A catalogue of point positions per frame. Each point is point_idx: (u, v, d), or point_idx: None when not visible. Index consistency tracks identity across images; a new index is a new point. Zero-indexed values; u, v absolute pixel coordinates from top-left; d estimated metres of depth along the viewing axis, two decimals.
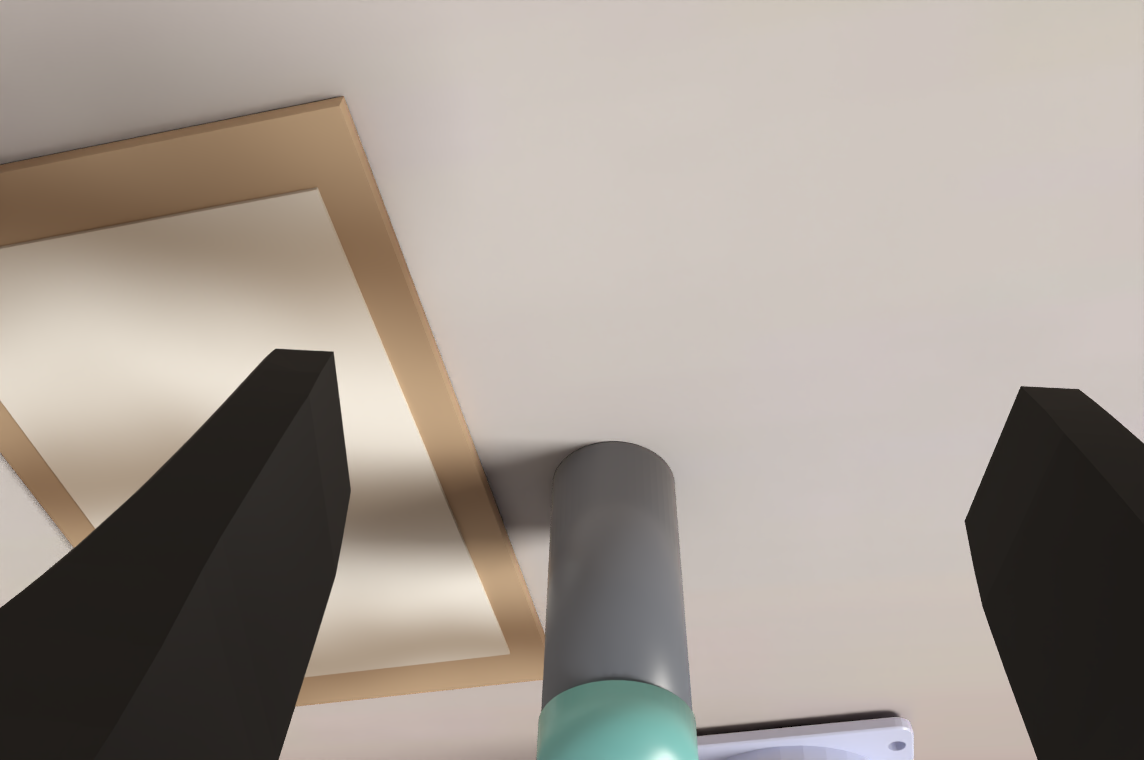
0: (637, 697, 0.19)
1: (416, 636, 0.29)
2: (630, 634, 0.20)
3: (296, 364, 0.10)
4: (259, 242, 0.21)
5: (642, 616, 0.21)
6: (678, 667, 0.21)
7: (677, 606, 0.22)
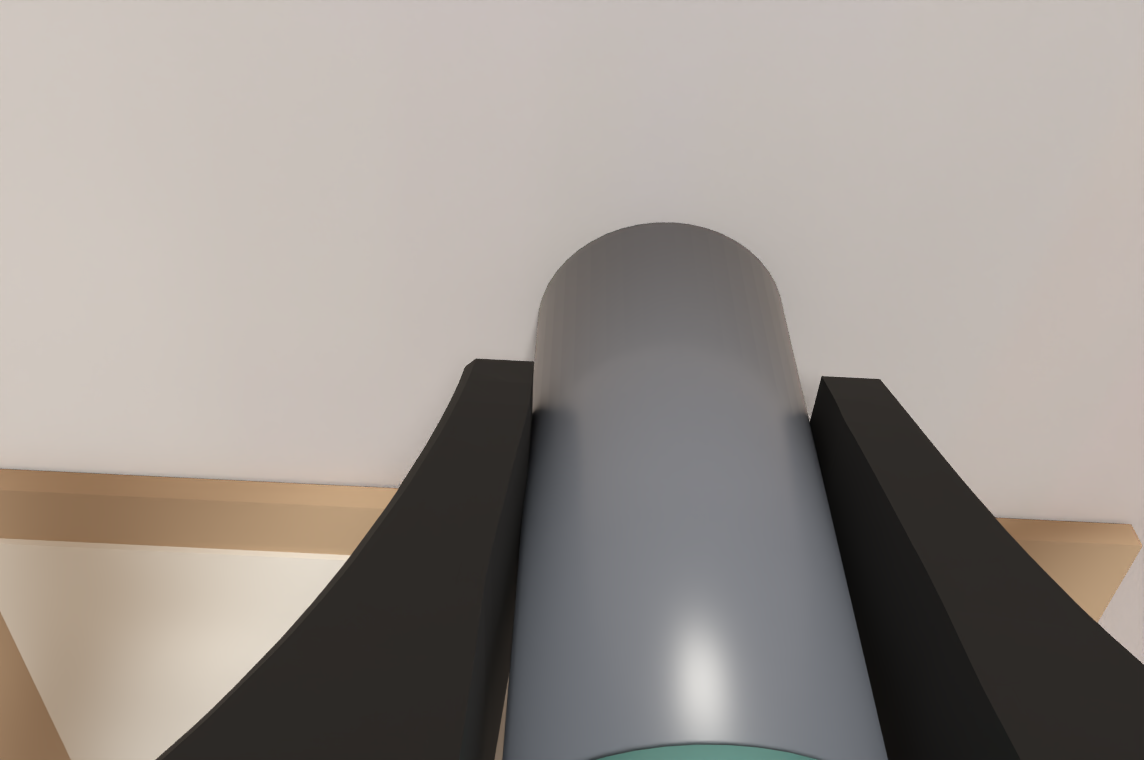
0: None
1: None
2: (518, 680, 0.08)
3: (503, 375, 0.10)
4: (65, 610, 0.16)
5: (538, 611, 0.08)
6: (633, 655, 0.07)
7: (637, 493, 0.09)
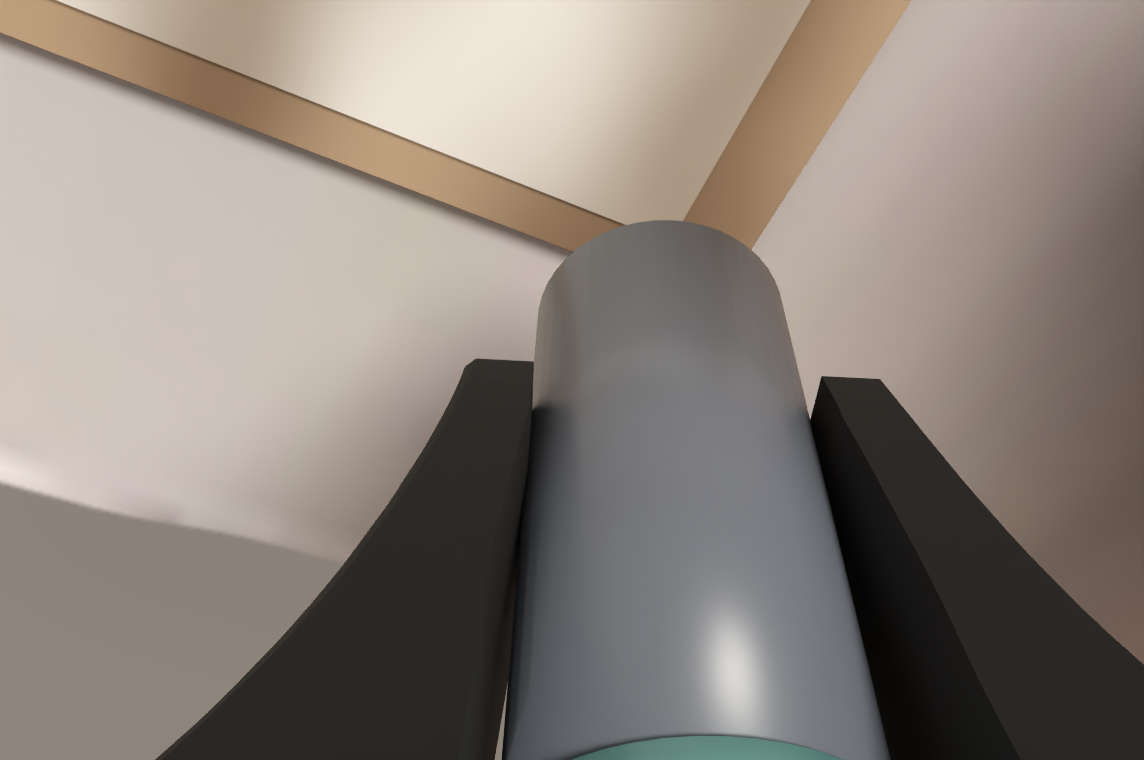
0: None
1: None
2: (517, 676, 0.08)
3: (503, 374, 0.10)
4: None
5: (535, 607, 0.08)
6: (631, 648, 0.07)
7: (636, 487, 0.09)
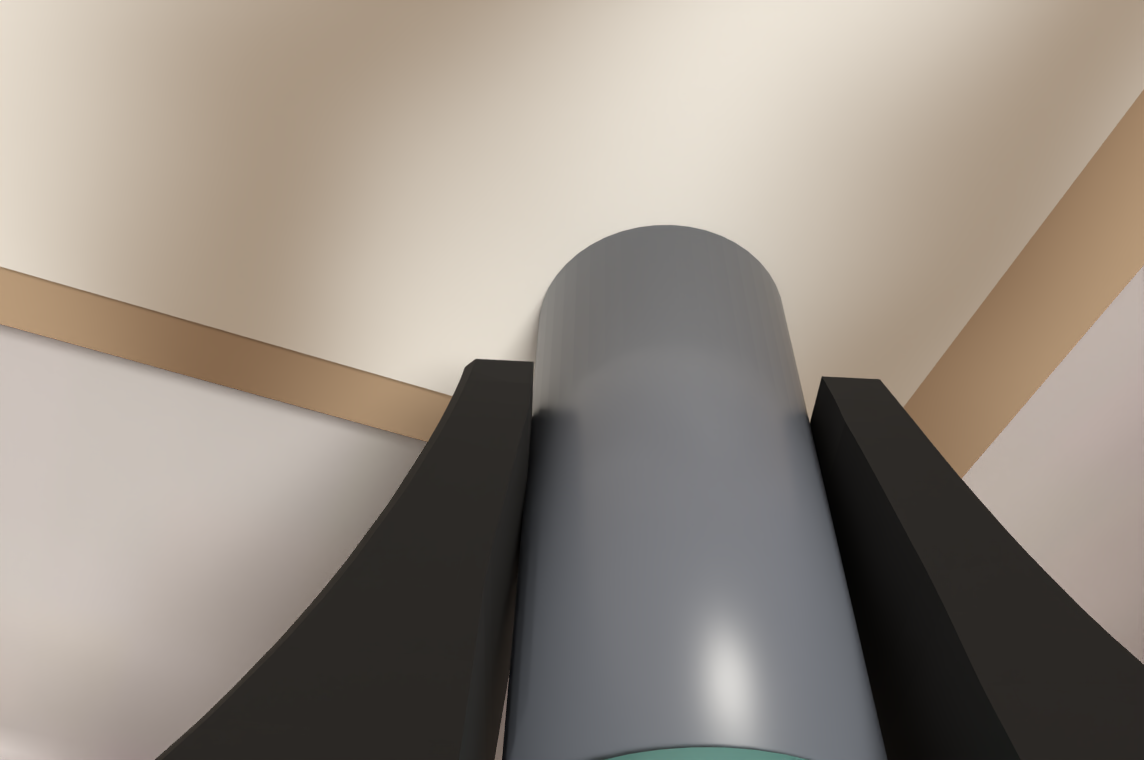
0: None
1: (1045, 38, 0.10)
2: (518, 684, 0.08)
3: (502, 374, 0.10)
4: None
5: (536, 615, 0.08)
6: (630, 658, 0.07)
7: (635, 497, 0.09)
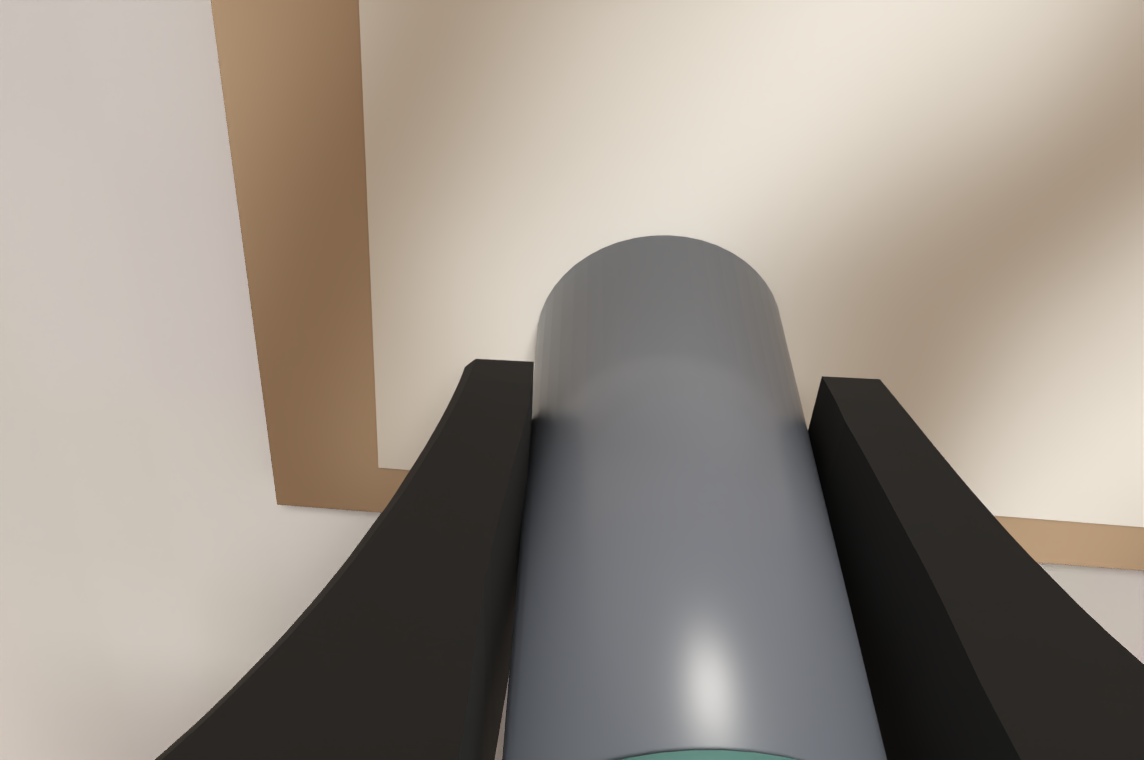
0: None
1: None
2: (517, 691, 0.08)
3: (503, 374, 0.10)
4: None
5: (534, 621, 0.08)
6: (628, 662, 0.07)
7: (633, 502, 0.09)
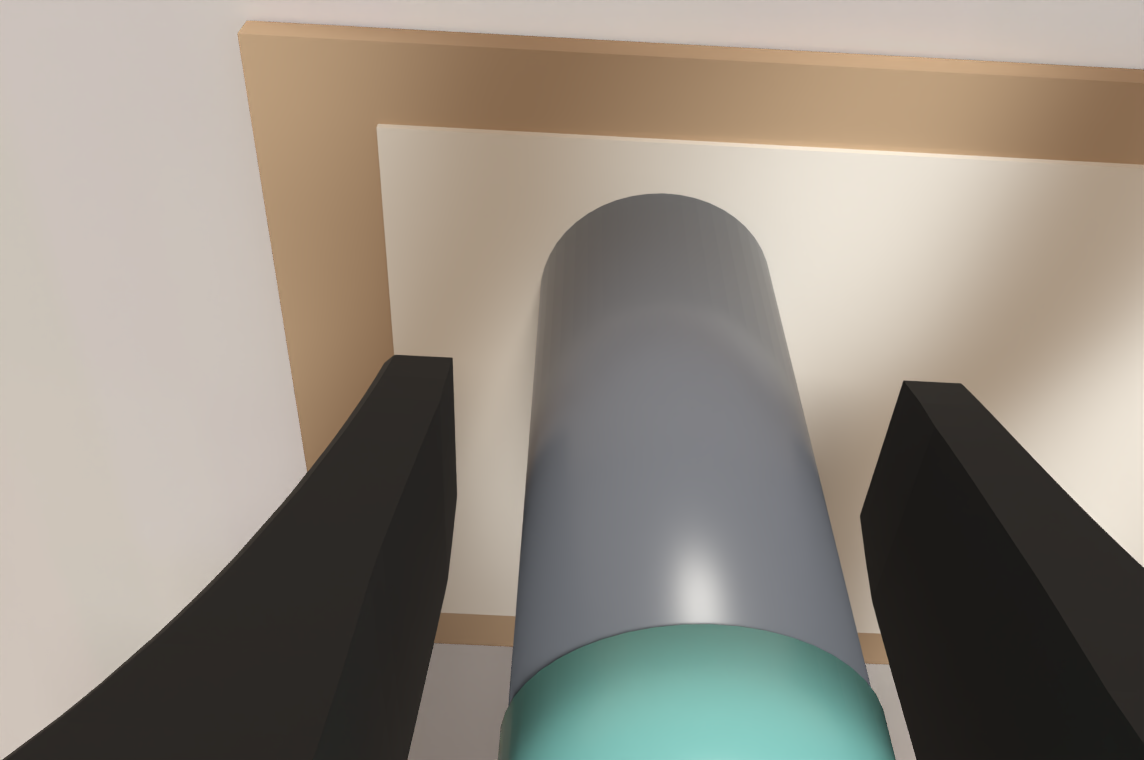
0: (516, 731, 0.08)
1: None
2: (525, 592, 0.09)
3: (418, 370, 0.10)
4: (461, 243, 0.13)
5: (541, 531, 0.09)
6: (627, 557, 0.08)
7: (630, 424, 0.09)
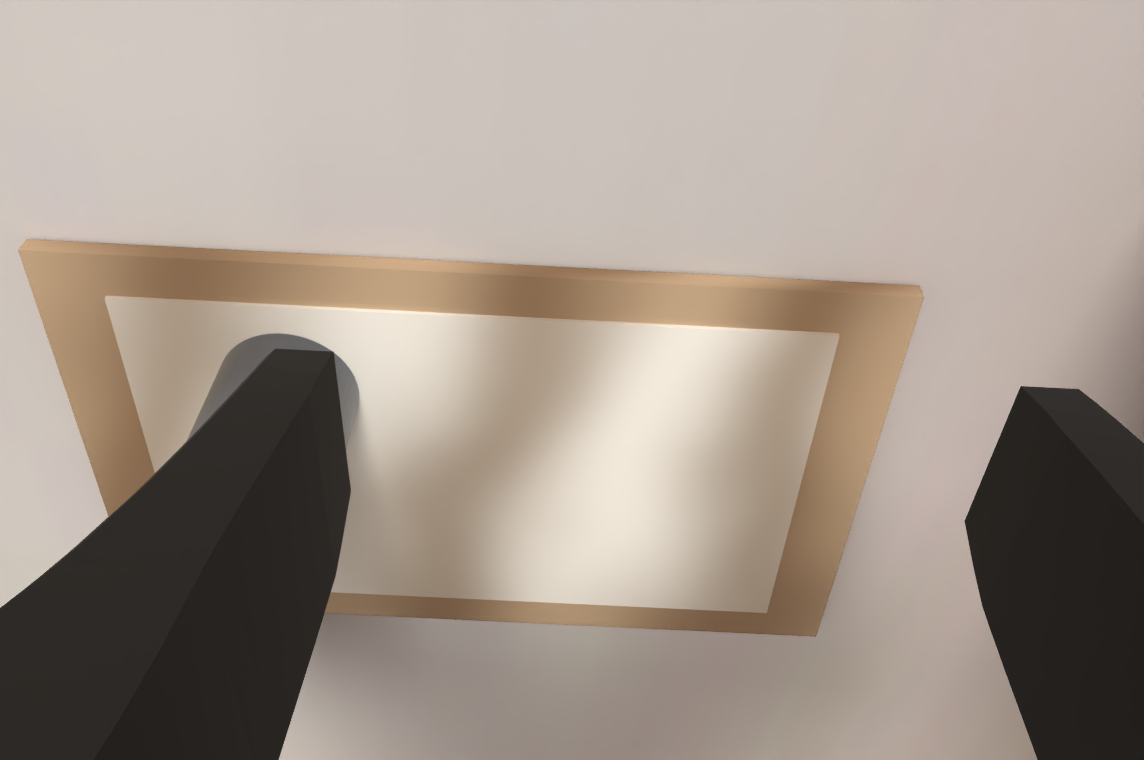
0: None
1: (759, 418, 0.23)
2: None
3: (296, 364, 0.10)
4: (168, 359, 0.22)
5: None
6: None
7: None
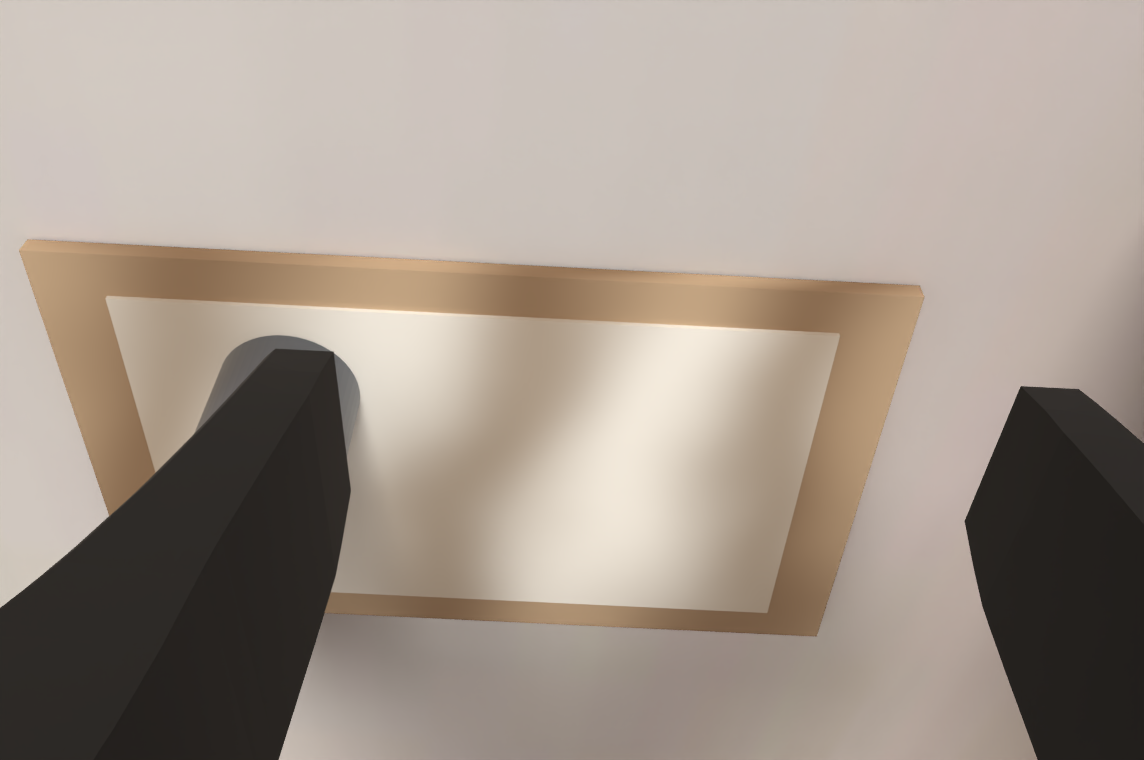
0: None
1: (760, 418, 0.23)
2: None
3: (296, 365, 0.10)
4: (169, 359, 0.22)
5: None
6: None
7: None
